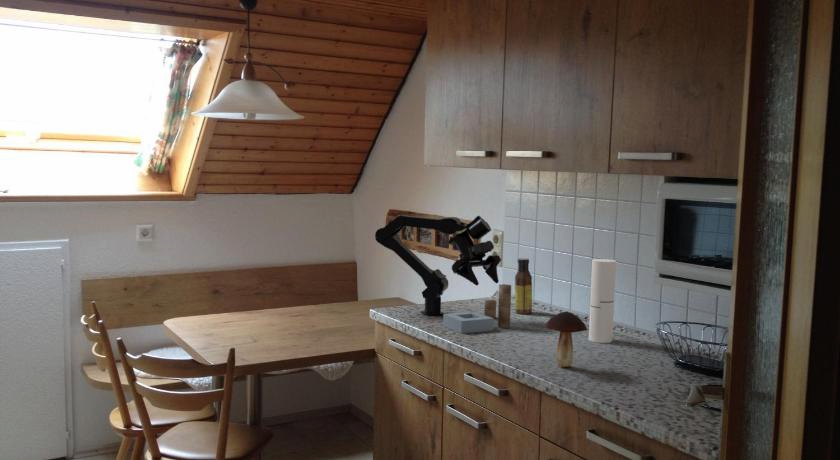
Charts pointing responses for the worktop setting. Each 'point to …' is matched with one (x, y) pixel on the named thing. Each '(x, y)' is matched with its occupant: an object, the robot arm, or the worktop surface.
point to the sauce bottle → (523, 288)
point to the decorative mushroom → (565, 335)
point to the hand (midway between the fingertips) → (487, 283)
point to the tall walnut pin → (504, 306)
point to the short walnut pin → (490, 308)
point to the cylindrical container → (602, 300)
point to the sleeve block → (468, 322)
